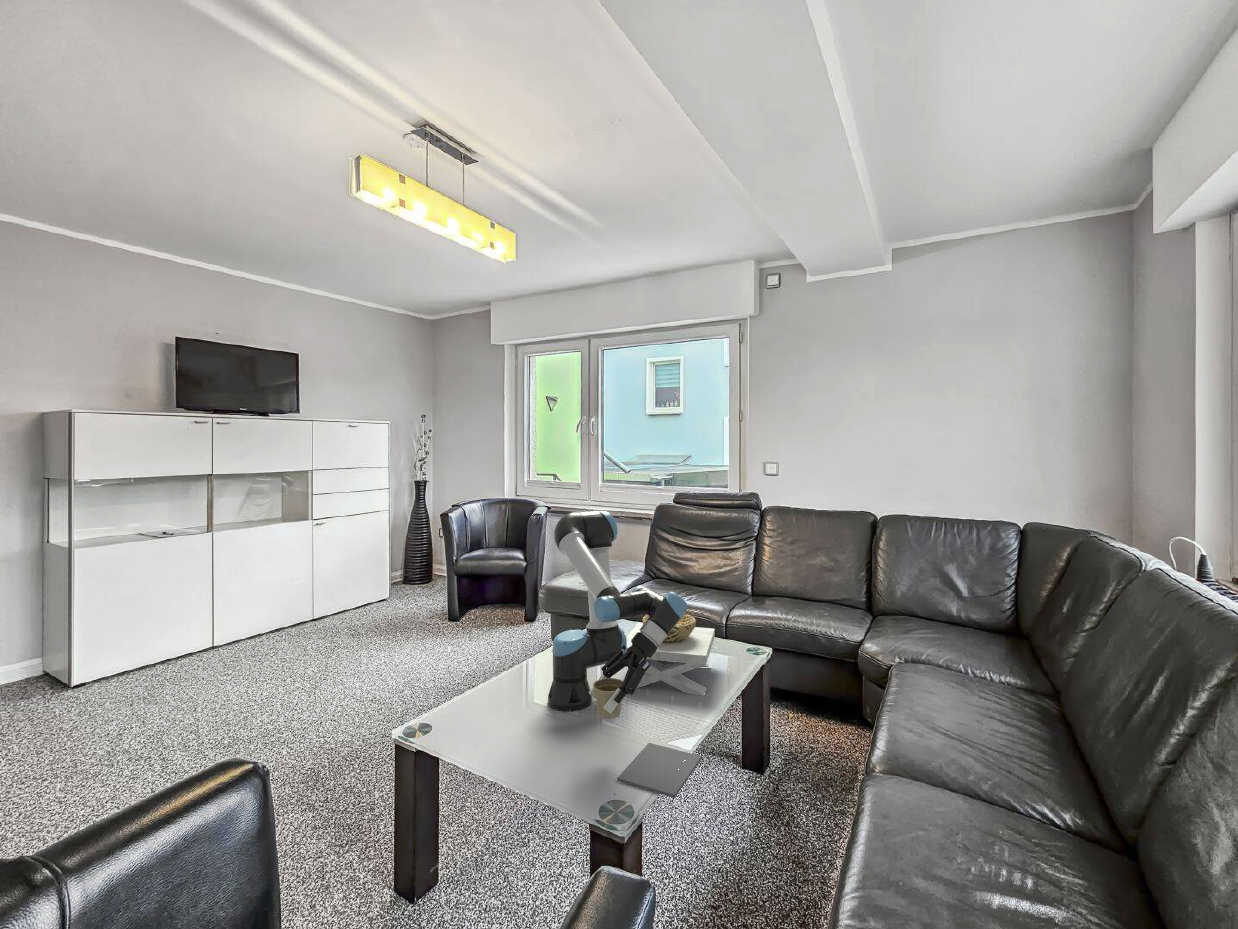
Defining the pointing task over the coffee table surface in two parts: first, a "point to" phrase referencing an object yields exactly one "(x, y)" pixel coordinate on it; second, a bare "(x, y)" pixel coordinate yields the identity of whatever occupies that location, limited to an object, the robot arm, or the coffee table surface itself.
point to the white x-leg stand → (678, 655)
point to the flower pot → (607, 696)
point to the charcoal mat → (660, 769)
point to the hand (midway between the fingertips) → (599, 703)
